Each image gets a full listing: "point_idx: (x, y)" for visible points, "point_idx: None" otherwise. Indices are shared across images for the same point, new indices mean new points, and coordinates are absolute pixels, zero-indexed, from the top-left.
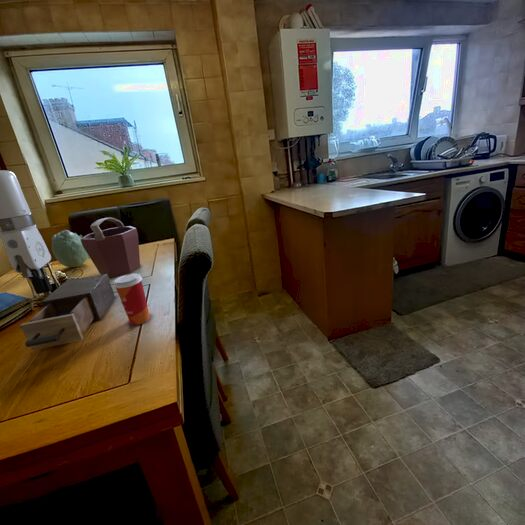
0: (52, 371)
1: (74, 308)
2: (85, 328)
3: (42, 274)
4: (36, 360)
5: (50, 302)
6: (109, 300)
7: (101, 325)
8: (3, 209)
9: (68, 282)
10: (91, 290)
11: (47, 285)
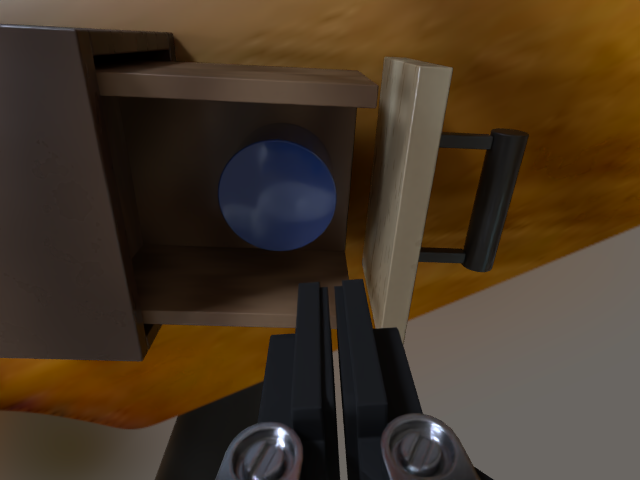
0: (573, 122)
1: (311, 100)
2: (309, 68)
3: (305, 477)
4: (441, 224)
5: (140, 312)
6: None
7: (247, 2)
8: None
9: None
10: (20, 35)
11: (370, 322)
